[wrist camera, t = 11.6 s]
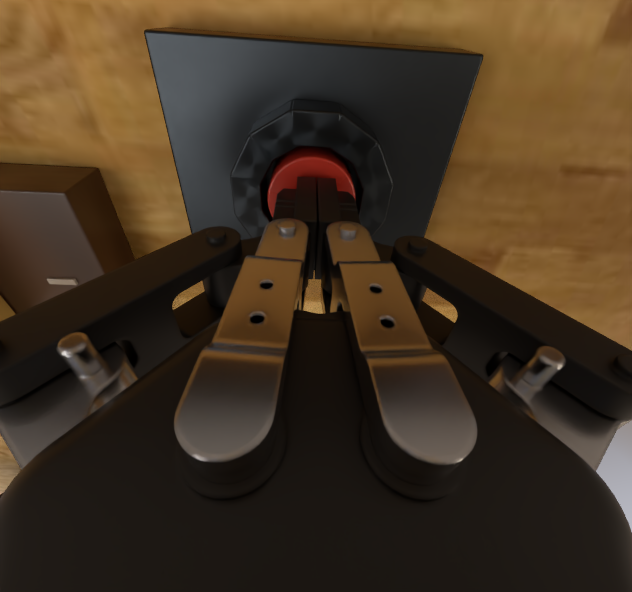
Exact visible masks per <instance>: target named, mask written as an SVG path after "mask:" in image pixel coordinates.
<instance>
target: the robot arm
mask: <svg viewBox="0 0 632 592" xmlns="http://www.w3.org/2000/svg"><path fill="white" fill-rule="evenodd" d="M314 257H315V279H321V293H320V296H321V303H322V310H323V314H316V313H311V312H307V311H304V304H305V296H306V288H307V286H308V279H313V272H314ZM200 281H203V285H204V289H205V291H204V292H203V293H201V294H199V295H198V296H196V297H194V298H193V299H191V300H189V301H188V302H186V303H184V304H183V305H181V306H179V307H178V308H176V309H174V310H173V309H172V304H173V301H174V299H175V298H176V296H177V295H178V294H179V293H181V292H183V291H184V290H186V289H188V288H190V287H191V286H193V285H195V284H196V283H198V282H200ZM427 288H429V289H430V290H432V291H433V292H435V293H436V294H438V295H439V296H441V297H442V298H444V299H445V300H447V301H449V302H450V303H451V304H453V305H454V307H455V308H456V310H457V313H458V318H457V320H456V322H455V323H454V322H452V321H451V320H449V319H448V318H446V317H445V316H444V315H442V314H441V313H439V312H438V311H436V310H435V309H433V308H432V307H430V306H429V305H428V304H426V303H425V302H423V301H422V299H423V297H424V294H425V292H426V289H427ZM631 420H632V351H631V350H629V349H627V348H626V347H624V346H622V345H620V344H618V343H617V342H615V341H613V340H611V339H609V338H607V337H606V336H604V335H602V334H600V333H598V332H596V331H595V330H593V329H591V328H589V327H587V326H585V325H584V324H582V323H580V322H578V321H576V320H575V319H573V318H571V317H569V316H567V315H565V314H564V313H562V312H560V311H558V310H556V309H554V308H553V307H551V306H549V305H547V304H545V303H543V302H542V301H540V300H538V299H536V298H534V297H533V296H531V295H529V294H527V293H525V292H523V291H522V290H520V289H518V288H516V287H514V286H512V285H511V284H509V283H507V282H505V281H503V280H501V279H500V278H498V277H496V276H494V275H492V274H491V273H489V272H487V271H485V270H483V269H481V268H480V267H478V266H476V265H474V264H472V263H470V262H469V261H467V260H465V259H463V258H461V257H459V256H458V255H456V254H454V253H452V252H450V251H449V250H447V249H445V248H443V247H441V246H439V245H438V244H436V243H434V242H432V241H430V240H428V239H426V238H423V237H419V236H402V237H400V238H398V239H397V240H396V241H395V243H394V247H393V246H388V245H384V244H380V243H377V242H375V241H373V240H372V238H371V235H370V233H369V231H368V229H367V228H366V227H364V226H363V225H361V223H360V219H359V214H358V211H357V206H356V202H355V198H354V197H353V196H352V195H351V194H350V193H349V192H345V191H337V185H336V179H335V178H318V177H317V186H316V177H299V176H297V188H296V189H287V188H284V189H282V190H281V191H280V192H279V193H278V194H277V198H276V203H275V209H274V214H273V220H272V221H271V222H269V223H268V224H267V225H266V227H265V229H264V232H263V235H261V236H259V237H255V238H250V239H243V240H241V236H240V234H239V232H238V231H236V230H235V229H233V228H229V227H224V226H215V227H209V228H205V229H203V230H200V231H198V232H196V233H194V234H192V235H189V236H187V237H185V238H183V239H181V240H178V241H176V242H174V243H172V244H170V245H167V246H165V247H163V248H161V249H159V250H156V251H154V252H152V253H150V254H148V255H145V256H143V257H141V258H139V259H137V260H134V261H132V262H130V263H128V264H126V265H123V266H121V267H119V268H117V269H115V270H112V271H110V272H108V273H106V274H104V275H101V276H99V277H97V278H95V279H93V280H90V281H88V282H86V283H84V284H82V285H79V286H77V287H75V288H73V289H71V290H68V291H66V292H64V293H62V294H60V295H57V296H55V297H53V298H51V299H48V300H46V301H44V302H42V303H40V304H37V305H35V306H33V307H31V308H29V309H26V310H24V311H22V312H20V313H18V314H15V315H13V316H11V317H9V318H7V319H4V320H2V321H0V434H1V436H2V437H3V439H4V441H5V442H6V444H7V446H8V447H9V449H10V451H11V452H12V454H13V456H14V458H15V459H16V461H17V463H18V464H19V466H20V468H21V469H22V470H21V471H20V472H19V474H18V475H17V476H16V477H15V478H14V479H13V481H12V482H11V483H10V485H9V486H8V488H7V489H6V490H5V492H4V493H3V495H2V496H1V498H0V592H632V532H631V529H630V526H629V523H628V521H627V519H626V517H625V514H624V512H623V510H622V508H621V506H620V505H619V503H618V501H617V499H616V498H615V496H614V495H613V493H612V492H611V490H610V489H609V487H608V486H607V485H606V483H605V482H604V481H603V480H602V478H601V477H600V476H599V475H598V474H597V472H596V470H597V468H598V466H599V464H600V462H601V460H602V458H603V456H604V454H605V452H606V450H607V448H608V446H609V444H610V442H611V441H612V438H613V437H614V435H615V433H616V431H617V429H619V428H620V427H622V426H624V425H625V424H627V423H628V422H630V421H631Z"/></svg>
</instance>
